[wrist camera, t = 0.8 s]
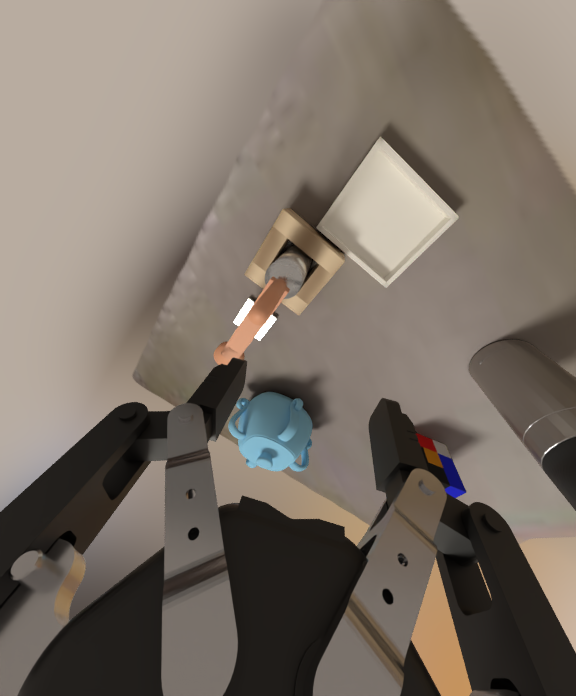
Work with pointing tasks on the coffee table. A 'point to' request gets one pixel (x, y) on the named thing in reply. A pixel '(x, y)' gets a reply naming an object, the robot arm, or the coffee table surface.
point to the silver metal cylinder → (290, 269)
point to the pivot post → (244, 313)
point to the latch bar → (252, 321)
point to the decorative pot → (273, 431)
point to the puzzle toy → (441, 465)
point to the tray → (386, 215)
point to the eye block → (307, 241)
